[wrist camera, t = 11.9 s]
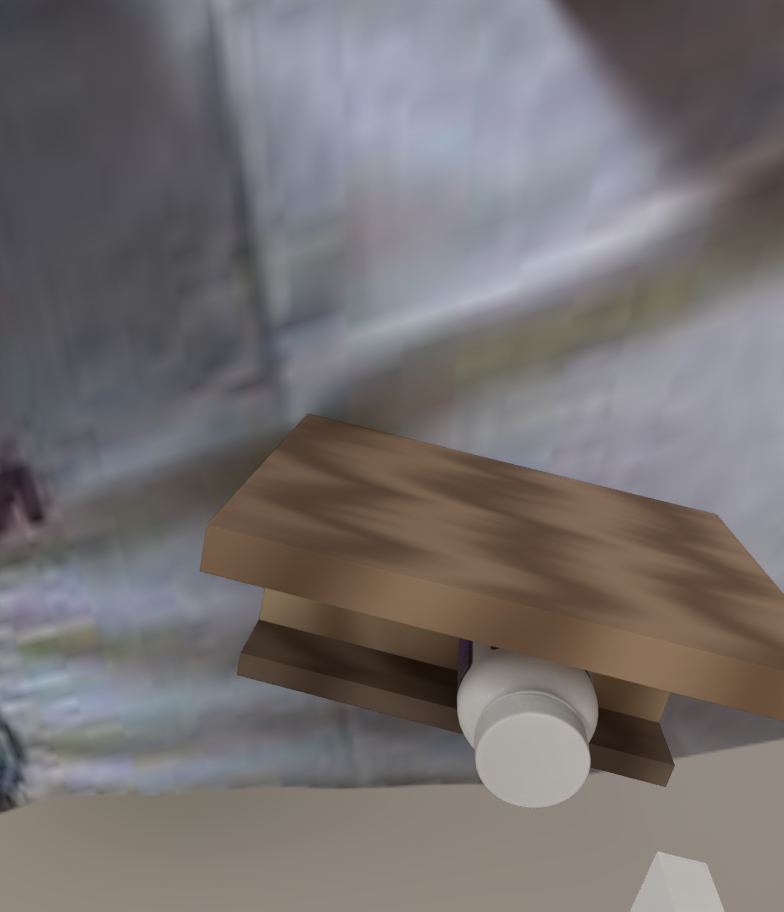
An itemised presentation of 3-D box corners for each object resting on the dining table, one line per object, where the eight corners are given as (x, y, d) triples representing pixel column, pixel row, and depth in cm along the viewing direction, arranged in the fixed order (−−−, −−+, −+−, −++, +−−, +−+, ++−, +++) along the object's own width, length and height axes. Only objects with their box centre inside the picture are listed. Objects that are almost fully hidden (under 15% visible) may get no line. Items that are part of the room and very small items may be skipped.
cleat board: (268, 615, 39) (161, 814, 26) (307, 413, 36) (207, 524, 22) (639, 710, 38) (726, 966, 25) (716, 514, 35) (865, 691, 22)
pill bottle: (513, 690, 36) (526, 850, 27) (436, 616, 35) (422, 755, 26) (600, 625, 34) (645, 770, 25) (521, 546, 34) (538, 666, 24)
